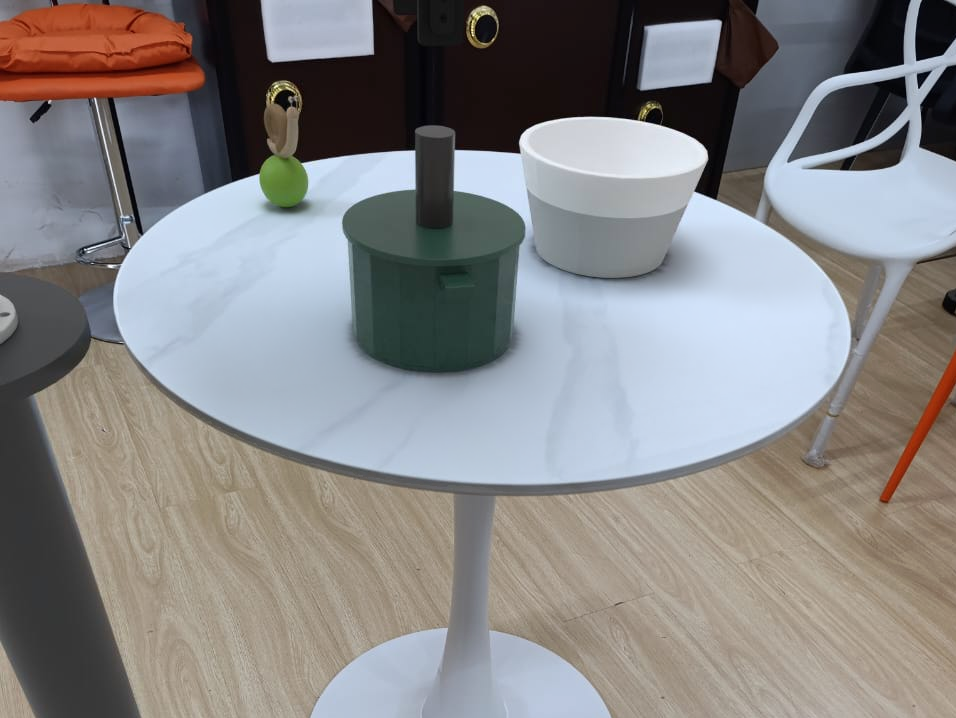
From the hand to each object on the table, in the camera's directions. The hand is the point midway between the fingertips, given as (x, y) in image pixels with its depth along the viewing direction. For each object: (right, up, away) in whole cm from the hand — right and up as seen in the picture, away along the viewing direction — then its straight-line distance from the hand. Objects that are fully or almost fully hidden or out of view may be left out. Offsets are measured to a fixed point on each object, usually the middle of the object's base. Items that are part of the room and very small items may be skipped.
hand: (425, 28), depth 70 cm
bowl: (+17, -4, +31) cm, 36 cm away
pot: (0, -18, +16) cm, 24 cm away
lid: (0, -11, +9) cm, 14 cm away
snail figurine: (-18, +3, +36) cm, 40 cm away
